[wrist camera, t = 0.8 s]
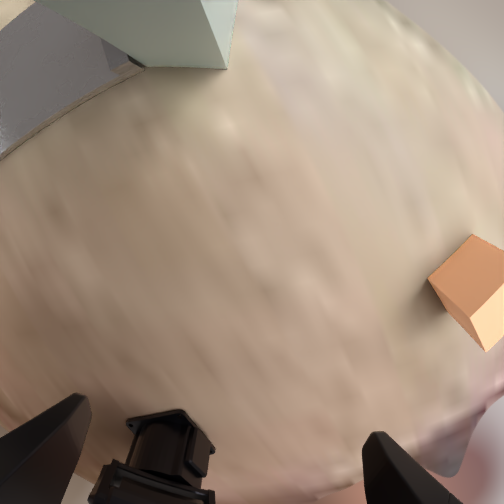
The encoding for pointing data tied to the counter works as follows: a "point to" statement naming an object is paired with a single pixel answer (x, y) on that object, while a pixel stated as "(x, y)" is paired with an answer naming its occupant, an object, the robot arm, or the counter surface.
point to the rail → (51, 71)
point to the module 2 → (474, 289)
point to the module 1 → (159, 28)
